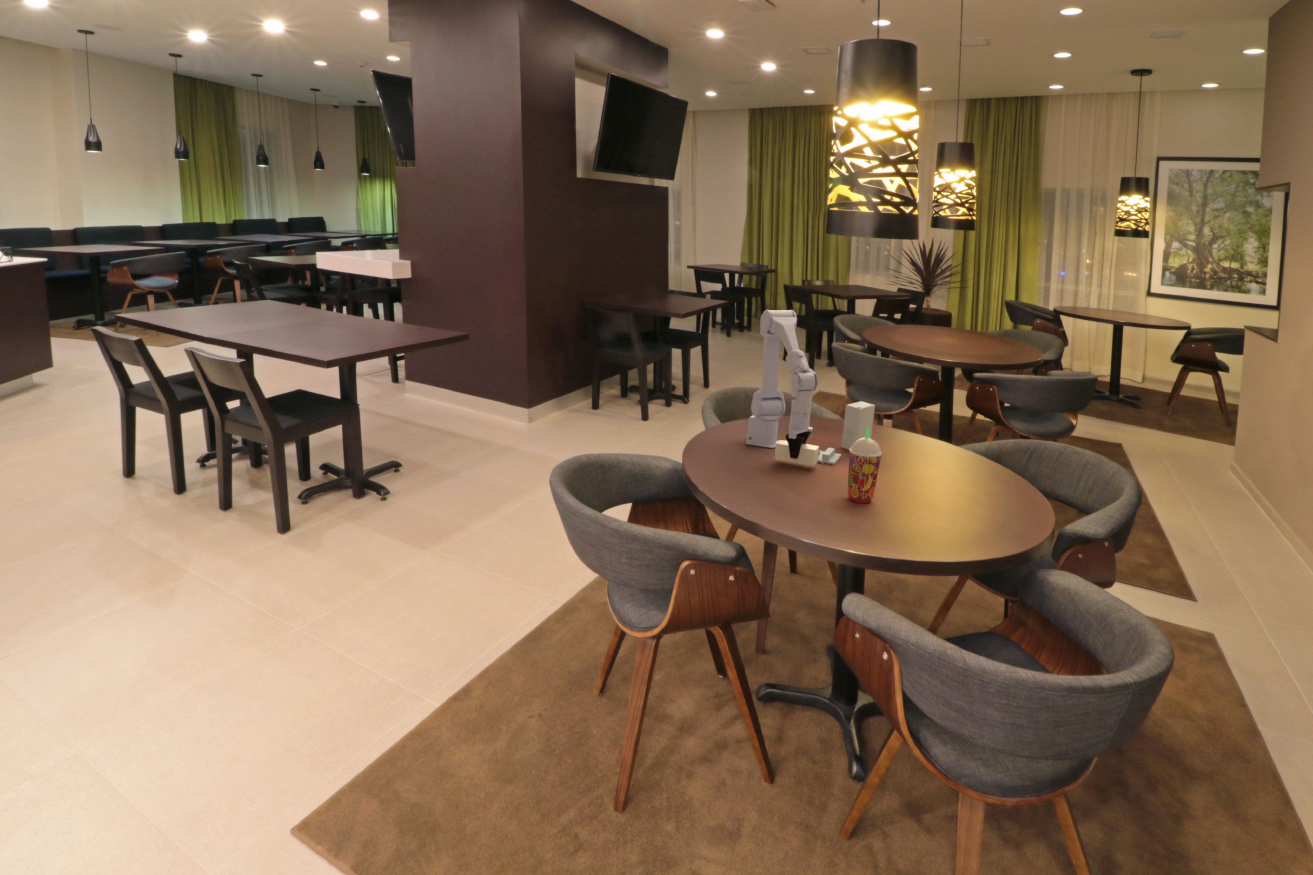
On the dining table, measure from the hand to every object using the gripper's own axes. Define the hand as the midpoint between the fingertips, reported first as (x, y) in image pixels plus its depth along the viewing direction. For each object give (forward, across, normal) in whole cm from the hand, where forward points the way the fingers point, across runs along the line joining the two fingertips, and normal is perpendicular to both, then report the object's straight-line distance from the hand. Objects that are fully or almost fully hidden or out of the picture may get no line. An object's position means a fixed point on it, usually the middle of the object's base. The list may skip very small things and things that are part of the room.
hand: (796, 455), depth 237 cm
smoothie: (+3, -19, -23) cm, 30 cm away
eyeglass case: (+2, 0, 0) cm, 2 cm away
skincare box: (+3, +29, -12) cm, 32 cm away
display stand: (+3, +12, -3) cm, 13 cm away
